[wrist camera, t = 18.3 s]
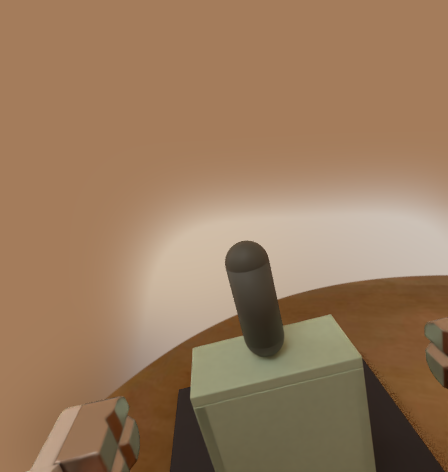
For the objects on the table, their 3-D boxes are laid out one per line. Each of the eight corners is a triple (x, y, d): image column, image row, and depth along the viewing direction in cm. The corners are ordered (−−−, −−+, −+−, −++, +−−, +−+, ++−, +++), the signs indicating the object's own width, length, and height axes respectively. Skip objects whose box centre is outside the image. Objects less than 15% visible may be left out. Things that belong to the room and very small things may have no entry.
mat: (161, 575, 16) (158, 569, 16) (180, 393, 27) (178, 389, 27) (465, 505, 16) (465, 498, 15) (355, 351, 27) (354, 347, 27)
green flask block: (379, 495, 16) (347, 232, 12) (234, 529, 17) (148, 281, 12) (349, 434, 20) (315, 212, 15) (229, 462, 20) (161, 250, 15)
